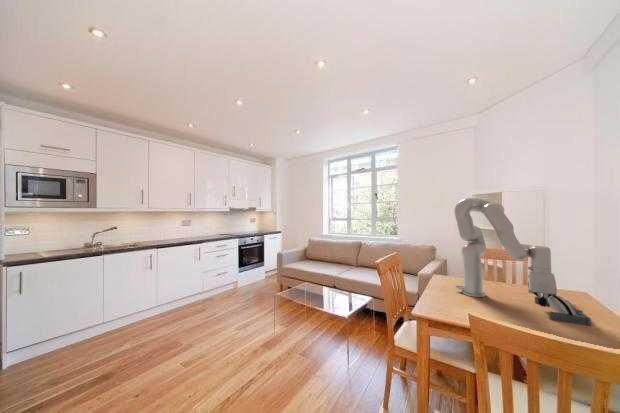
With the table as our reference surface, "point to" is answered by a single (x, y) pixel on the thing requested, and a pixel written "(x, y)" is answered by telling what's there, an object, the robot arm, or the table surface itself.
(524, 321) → the table surface
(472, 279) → the robot arm
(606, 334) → the table surface
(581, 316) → the bay
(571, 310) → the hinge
